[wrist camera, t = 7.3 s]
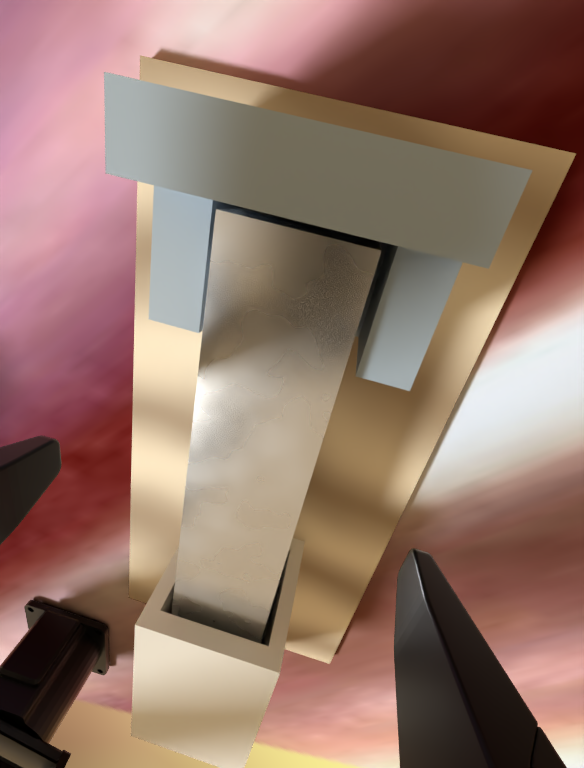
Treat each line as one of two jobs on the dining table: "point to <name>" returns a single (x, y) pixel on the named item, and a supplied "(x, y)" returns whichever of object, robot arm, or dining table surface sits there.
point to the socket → (308, 205)
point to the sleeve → (206, 674)
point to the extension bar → (262, 405)
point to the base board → (355, 395)
